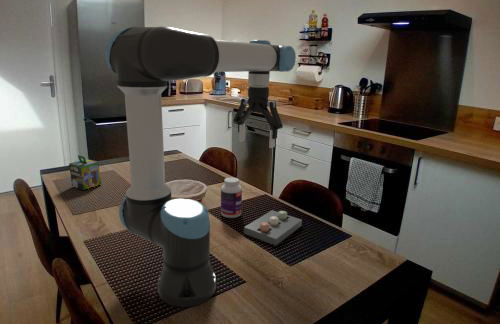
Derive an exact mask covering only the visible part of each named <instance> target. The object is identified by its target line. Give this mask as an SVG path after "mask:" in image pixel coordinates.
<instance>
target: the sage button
mask: <svg viewBox="0 0 500 324" xmlns="http://www.w3.org/2000/svg"><path fill="white" fill-rule="evenodd" d="M277 212H278V218H279V219H280V220H283V221H285V220H287V215H288V212H287V211H285V210H279V211H277Z"/></svg>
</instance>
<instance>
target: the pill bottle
mask: <svg viewBox="0 0 500 324" xmlns="http://www.w3.org/2000/svg"><path fill="white" fill-rule="evenodd" d="M239 183H240V179H239V178H237V177H226V178H224V183H223V184H222V186H221V188H220V213H221V216H223V217H224V218H227V219H236V218H238V217H240V216H241V214H242V210H243V209H242V208H243V207H242V205H243V202H242V201H243V187H242V186H241V185H240V184H239Z"/></svg>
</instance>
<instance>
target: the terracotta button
mask: <svg viewBox="0 0 500 324" xmlns="http://www.w3.org/2000/svg"><path fill="white" fill-rule="evenodd" d="M269 225H270V224H269V223H267V222H262V223H260V231H261V232H263V233H268V232H269Z"/></svg>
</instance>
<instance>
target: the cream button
mask: <svg viewBox="0 0 500 324" xmlns="http://www.w3.org/2000/svg"><path fill="white" fill-rule="evenodd" d="M278 222H279V218H278V217H276V216H272V217H270V221H269V224H270V225H271V226H274V227H277V226H278Z"/></svg>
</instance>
